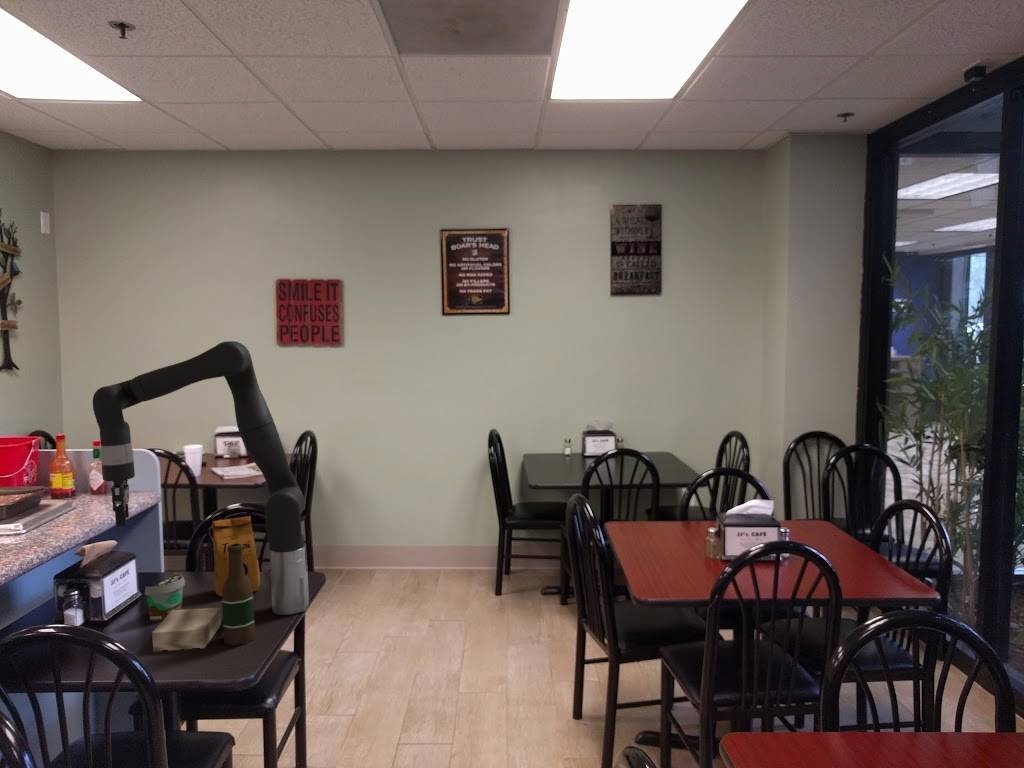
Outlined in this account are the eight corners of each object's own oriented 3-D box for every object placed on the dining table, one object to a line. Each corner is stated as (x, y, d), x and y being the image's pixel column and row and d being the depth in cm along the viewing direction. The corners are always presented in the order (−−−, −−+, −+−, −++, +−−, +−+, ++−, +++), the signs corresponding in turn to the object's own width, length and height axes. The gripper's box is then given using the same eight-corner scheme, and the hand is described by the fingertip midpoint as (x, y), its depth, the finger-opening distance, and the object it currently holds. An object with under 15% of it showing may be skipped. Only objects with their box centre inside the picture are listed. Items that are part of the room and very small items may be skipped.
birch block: (221, 625, 193) (220, 607, 193) (205, 649, 179) (203, 629, 179) (173, 628, 192) (172, 610, 191) (153, 652, 178) (151, 632, 178)
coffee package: (261, 593, 215) (257, 519, 213) (215, 601, 210) (211, 525, 208) (258, 582, 224) (254, 511, 222) (214, 589, 219) (209, 516, 217)
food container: (167, 626, 193) (165, 588, 192) (146, 624, 194) (144, 587, 193) (196, 607, 205) (194, 572, 204) (176, 606, 206) (174, 571, 205)
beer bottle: (230, 632, 188) (225, 540, 186) (261, 632, 188) (256, 540, 185) (217, 646, 180) (212, 549, 178) (249, 646, 180) (244, 549, 178)
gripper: (131, 464, 189) (136, 526, 190) (135, 455, 202) (140, 513, 203) (97, 467, 186) (103, 530, 187) (104, 458, 199) (109, 517, 201)
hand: (122, 521), depth 195 cm, fingers open, 8 cm apart
